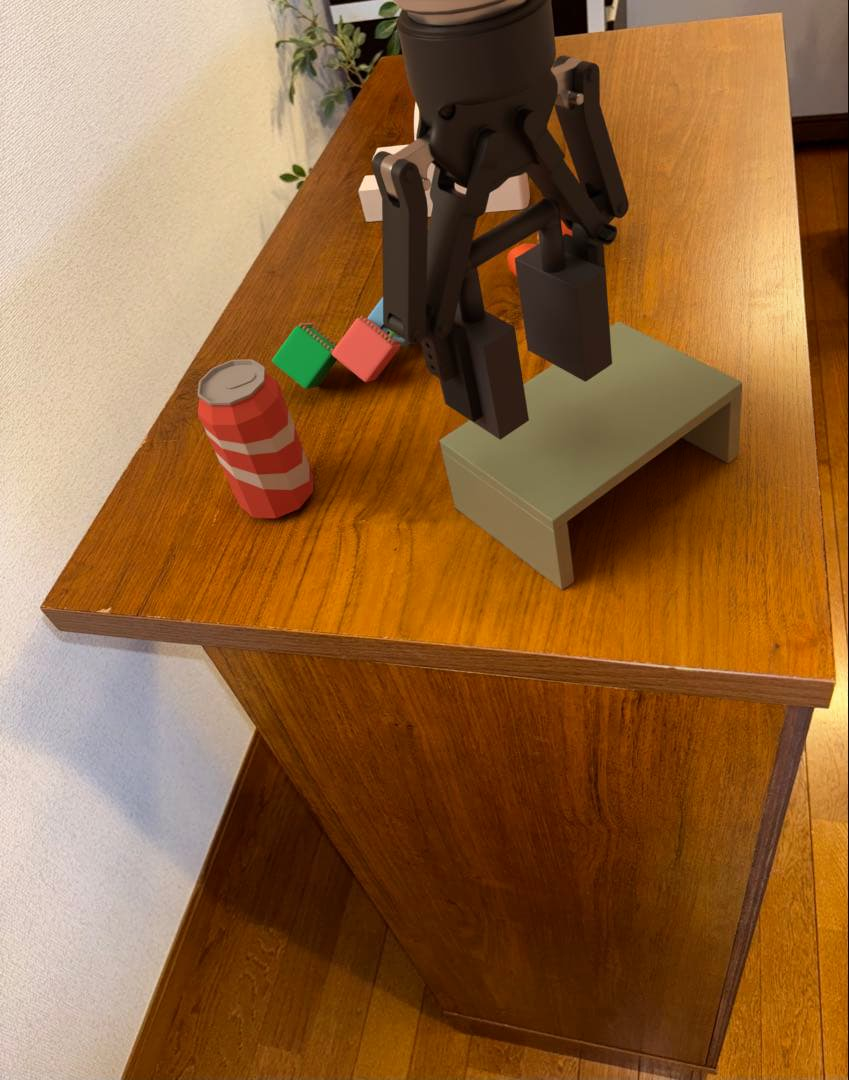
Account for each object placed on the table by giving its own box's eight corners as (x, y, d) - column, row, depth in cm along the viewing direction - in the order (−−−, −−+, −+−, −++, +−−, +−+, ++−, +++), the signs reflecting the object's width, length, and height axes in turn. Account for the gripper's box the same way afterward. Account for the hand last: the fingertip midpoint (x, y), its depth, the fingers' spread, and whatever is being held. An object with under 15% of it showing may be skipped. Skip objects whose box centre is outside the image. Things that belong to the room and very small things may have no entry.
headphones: (612, 364, 63) (601, 200, 55) (500, 440, 60) (470, 278, 52) (553, 333, 67) (534, 175, 59) (444, 403, 64) (409, 247, 56)
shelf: (738, 455, 73) (742, 381, 68) (562, 590, 68) (552, 521, 63) (622, 391, 81) (618, 320, 76) (454, 508, 75) (438, 440, 70)
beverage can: (327, 503, 78) (283, 385, 70) (252, 535, 77) (199, 419, 69) (303, 460, 83) (260, 344, 74) (233, 491, 82) (180, 376, 73)
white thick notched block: (366, 222, 109) (341, 124, 101) (384, 178, 115) (362, 83, 107) (527, 208, 104) (514, 105, 96) (537, 163, 110) (525, 63, 102)
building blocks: (359, 410, 93) (437, 309, 90) (338, 418, 86) (422, 307, 82) (295, 358, 93) (371, 254, 90) (268, 361, 85) (350, 247, 82)
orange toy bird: (568, 252, 86) (572, 184, 94) (492, 283, 89) (502, 215, 97) (590, 297, 89) (592, 228, 97) (516, 326, 92) (524, 256, 100)
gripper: (584, -92, 53) (609, 271, 69) (238, 71, 46) (354, 433, 62) (692, -80, 48) (692, 308, 64) (323, 104, 41) (425, 488, 57)
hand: (526, 369), depth 63 cm, fingers closed on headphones, 10 cm apart
